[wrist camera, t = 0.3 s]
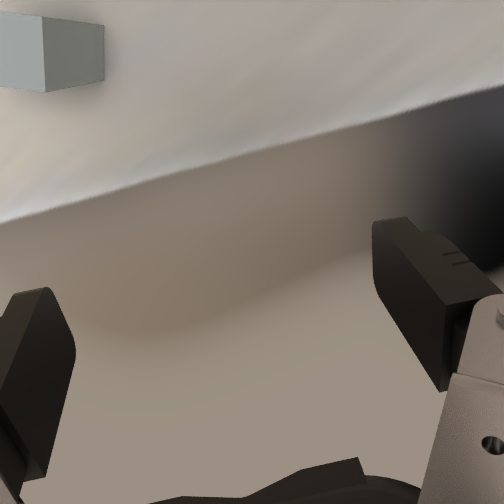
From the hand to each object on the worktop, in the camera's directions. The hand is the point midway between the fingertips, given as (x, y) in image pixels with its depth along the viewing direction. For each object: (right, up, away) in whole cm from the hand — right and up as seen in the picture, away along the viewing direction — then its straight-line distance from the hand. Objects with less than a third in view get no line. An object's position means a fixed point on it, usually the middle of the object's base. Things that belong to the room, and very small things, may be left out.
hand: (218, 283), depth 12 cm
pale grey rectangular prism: (-12, +15, +21) cm, 28 cm away
